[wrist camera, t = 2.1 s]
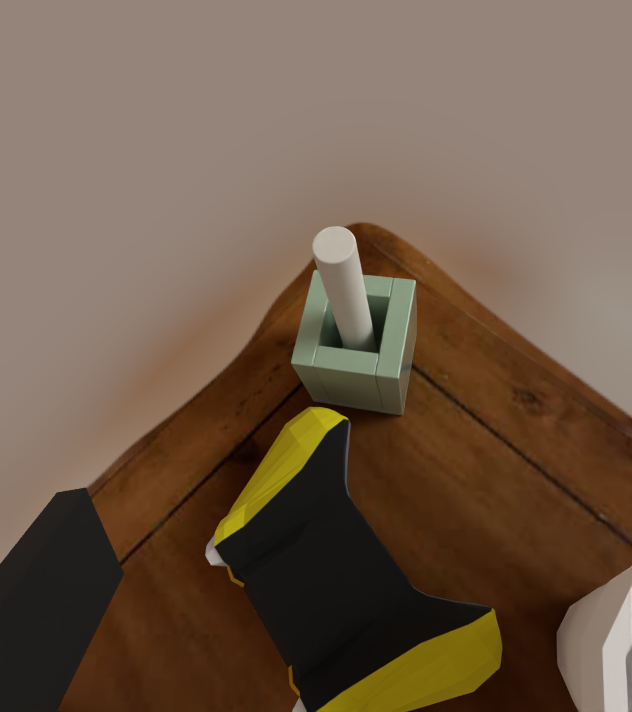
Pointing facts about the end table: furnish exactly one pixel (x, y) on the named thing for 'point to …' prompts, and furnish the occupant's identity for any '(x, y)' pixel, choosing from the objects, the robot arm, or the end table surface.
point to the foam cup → (599, 648)
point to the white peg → (345, 287)
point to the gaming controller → (343, 586)
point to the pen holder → (357, 368)
